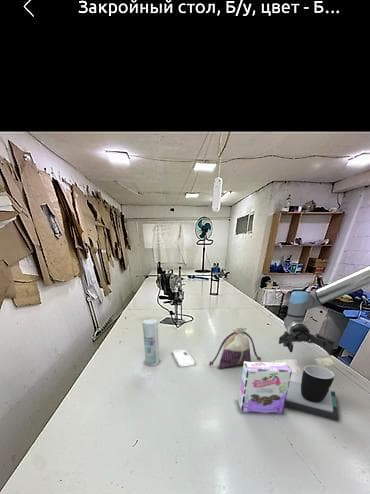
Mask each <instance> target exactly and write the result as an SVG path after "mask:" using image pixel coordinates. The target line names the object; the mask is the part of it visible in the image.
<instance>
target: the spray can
mask: <svg viewBox="0 0 370 494" xmlns="http://www.w3.org/2000/svg"><path fill="white" fill-rule="evenodd" d="M142 330H143V331H142V333H143V346H144V360H145V364H146V365H147V366H156V365H158V364H159V363H160V347H159V346H160V345H159V344H160V343H159V321H158V319H154V318H148V319H145V320H143V321H142Z"/></svg>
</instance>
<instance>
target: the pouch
mask: <svg viewBox="0 0 370 494" xmlns="http://www.w3.org/2000/svg"><path fill="white" fill-rule="evenodd" d="M231 330H232V331H233V332H232V333H230V334H228V335H227V336H226V337H225V338H224V339H223V340H222V342H221V343H220V345H219V348H218V351H217V352H216V355H215V357H214V358H213V359H212V361H209V363H208V366H209V367H211V366H213V365H214V362H215V361H217V358H218V356H219V354H220V352H221V354H220V358H219V361H218V365H217V368H218V369H223V368H229V367H236V366H240V365H243V364H244V361H247V362H252V360H251V359H252V358H251V345H252V351H253V354H254V356H255V357H256V360H257V361H258V362H262V358H261V356H258V354H257V352H256V347H255V343H254V340H253V338H252V337H251V335H250V334H249V333H248V332H246V331H247V327H237V328H236V329H231ZM250 342H251V345H250ZM221 350H222V351H221Z"/></svg>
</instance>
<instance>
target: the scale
mask: <svg viewBox="0 0 370 494" xmlns="http://www.w3.org/2000/svg"><path fill="white" fill-rule="evenodd" d="M284 408H288V409H291V410H295V411H299V412H302V413H306V414H310V415H314V416H317V417H320V418H323V419H327V420H331V421H335V422H337V421H338V419H339V412H338V404H337V398H336V391H334V390H331V389H329V391H328V393H327V395H326V397H325V398H324V399H323V400H322V401H321V402H310V401H308V400H306V399H305V398H303V396H302V394H301V382H297V381H292V380H290V382H289V387H288V391H287V396H286V400H285V405H284Z"/></svg>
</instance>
